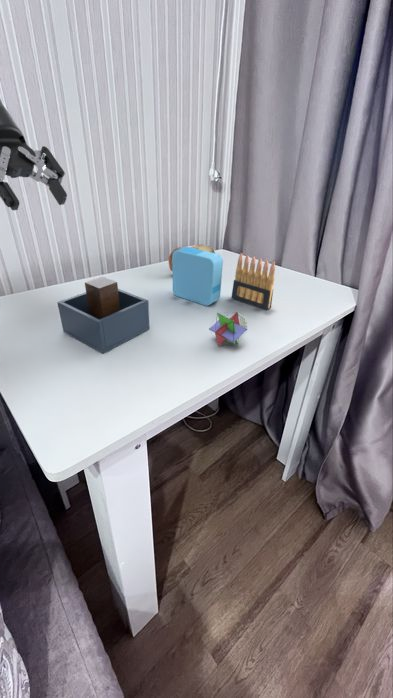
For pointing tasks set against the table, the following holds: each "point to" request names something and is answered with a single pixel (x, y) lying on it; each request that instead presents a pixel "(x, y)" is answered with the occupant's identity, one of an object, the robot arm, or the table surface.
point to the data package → (197, 275)
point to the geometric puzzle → (229, 328)
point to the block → (102, 297)
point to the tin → (200, 247)
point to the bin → (104, 321)
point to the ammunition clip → (254, 283)
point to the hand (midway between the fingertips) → (41, 204)
